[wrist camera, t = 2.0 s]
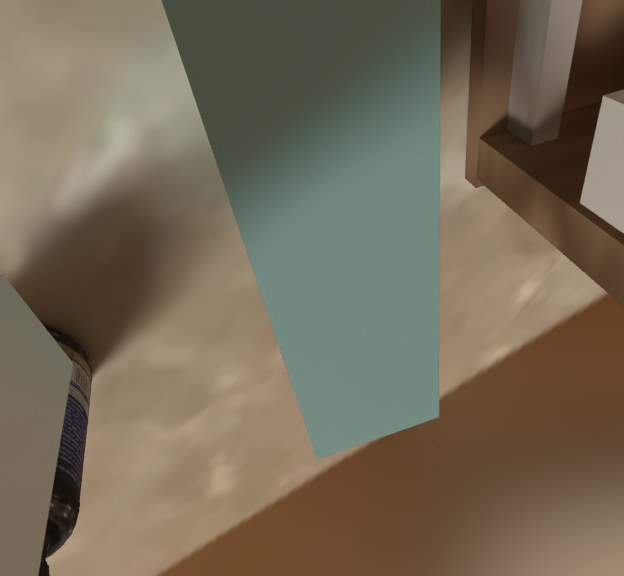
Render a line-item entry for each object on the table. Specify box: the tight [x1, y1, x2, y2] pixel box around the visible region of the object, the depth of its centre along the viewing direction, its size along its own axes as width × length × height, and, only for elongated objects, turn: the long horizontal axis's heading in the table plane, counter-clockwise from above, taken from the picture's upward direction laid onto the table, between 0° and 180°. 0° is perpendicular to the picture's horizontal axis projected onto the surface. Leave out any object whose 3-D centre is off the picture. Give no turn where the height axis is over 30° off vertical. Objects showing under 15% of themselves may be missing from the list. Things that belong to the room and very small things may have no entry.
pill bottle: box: [38, 329, 92, 576], centre depth 19 cm, size 6×6×11 cm
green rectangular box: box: [162, 0, 441, 459], centre depth 13 cm, size 12×4×12 cm, turn 10°
